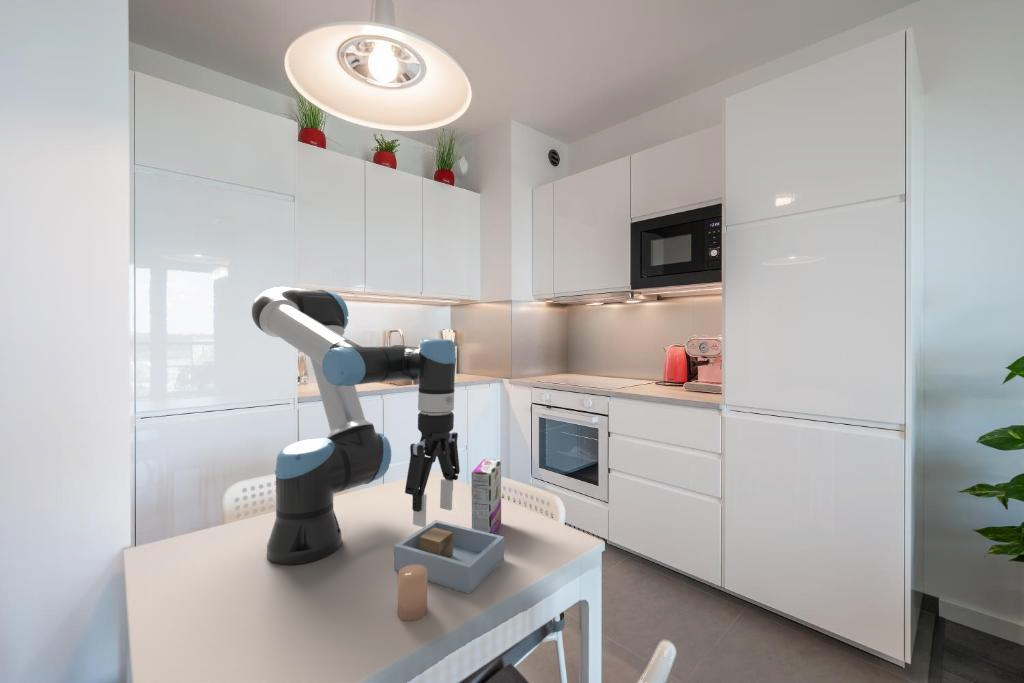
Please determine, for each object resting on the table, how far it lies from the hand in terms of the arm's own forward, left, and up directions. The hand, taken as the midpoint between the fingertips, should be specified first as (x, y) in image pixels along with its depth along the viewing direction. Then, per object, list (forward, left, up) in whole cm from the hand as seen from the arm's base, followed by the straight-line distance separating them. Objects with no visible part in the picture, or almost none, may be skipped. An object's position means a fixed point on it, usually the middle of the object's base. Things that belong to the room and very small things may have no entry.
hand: (433, 516), depth 94 cm
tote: (+5, 0, -9) cm, 10 cm away
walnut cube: (+1, 0, -9) cm, 9 cm away
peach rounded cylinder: (+8, -16, -9) cm, 20 cm away
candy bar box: (+4, +17, -10) cm, 20 cm away
